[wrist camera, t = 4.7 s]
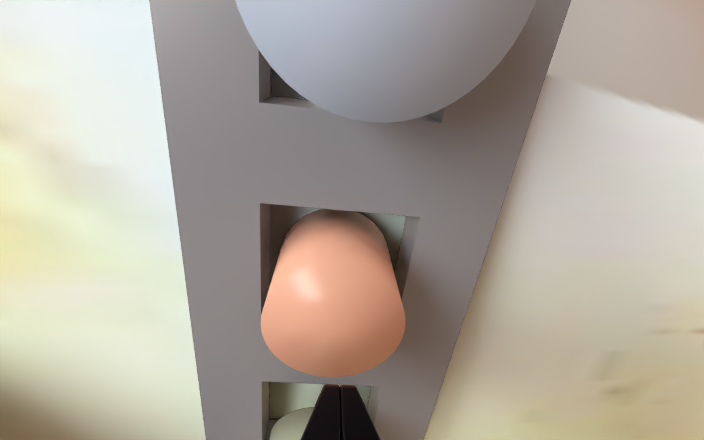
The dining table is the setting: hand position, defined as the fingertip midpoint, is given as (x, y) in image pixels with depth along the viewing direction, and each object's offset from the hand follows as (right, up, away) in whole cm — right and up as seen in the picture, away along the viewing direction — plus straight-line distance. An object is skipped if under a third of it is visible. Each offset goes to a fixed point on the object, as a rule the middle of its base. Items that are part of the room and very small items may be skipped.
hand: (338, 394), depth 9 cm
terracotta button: (0, +3, +6) cm, 7 cm away
